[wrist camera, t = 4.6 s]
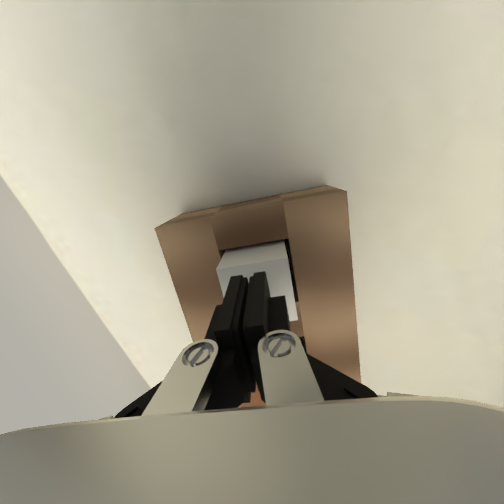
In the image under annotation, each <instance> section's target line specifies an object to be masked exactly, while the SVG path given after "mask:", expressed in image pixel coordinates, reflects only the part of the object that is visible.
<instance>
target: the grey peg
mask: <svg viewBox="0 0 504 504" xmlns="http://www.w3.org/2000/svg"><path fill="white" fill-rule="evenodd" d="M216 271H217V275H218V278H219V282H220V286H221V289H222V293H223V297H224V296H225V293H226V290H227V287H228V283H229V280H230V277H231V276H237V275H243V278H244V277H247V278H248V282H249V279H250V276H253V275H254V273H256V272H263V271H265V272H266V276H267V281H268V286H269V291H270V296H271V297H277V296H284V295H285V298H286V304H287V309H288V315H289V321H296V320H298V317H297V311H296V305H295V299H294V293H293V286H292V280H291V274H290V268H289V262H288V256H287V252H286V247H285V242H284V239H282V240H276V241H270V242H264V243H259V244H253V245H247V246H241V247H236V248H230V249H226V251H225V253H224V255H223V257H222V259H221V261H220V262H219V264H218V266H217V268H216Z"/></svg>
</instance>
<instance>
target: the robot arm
mask: <svg viewBox="0 0 504 504" xmlns="http://www.w3.org/2000/svg"><path fill="white" fill-rule="evenodd" d="M256 383H257V387H258V390H259V392H260V396H261V400H262V401H263V402H264V403H266V405H264V406H251V407H239V406H240V405H241V404H242V403H250V401H251V393H253V392H255V391H256ZM238 407H239V408H238ZM0 504H504V408H502V407H498V406H493V405H489V404H485V403H480V402H476V401H470V400H463V399H455V398H448V397H432V396H417V395H409V394H400V393H392V392H387V396H381V395H376V394H375V392H373V391H372V390H371V389H369V388H368V387H367V386H365V385H363V384H361V383H359V382H358V381H356V380H354V379H352V378H350V377H349V376H347V375H345V374H343V373H341V372H340V371H338V370H336V369H334V368H332V367H331V366H329V365H327V364H325V363H323V362H322V361H320V360H318V359H316V358H314V357H313V356H311V355H309V354H307V353H305V351H304V349H303V346H302V344H301V341H300V339H299V337H298V336H297V335H296V334H295V333H293V332H291V328H290V321H289V315H288V309H287V304H286V298H285V295H284V296H277V297H271V296H270V291H269V286H268V281H267V276H266V272H265V271H263V272H256V273H254V275H253V276H250V279H249V282H248V278H247V277H244V278H243V275H237V276H231V277H230V280H229V283H228V287H227V290H226V293H225V296H224V299H223V302H222V304H221V305H216V307H215V310H214V313H213V316H212V318H211V321H210V324H209V327H208V330H207V333H206V335H205V338H204V339H202V340H198V341H195V342H193V343H191V344H189V345H188V346H187V347H185V348H184V349H183V350H182V352H181V353H180V354H179V356H178V358H177V359H176V361H175V362H174V364H173V366H172V367H171V369H170V370H169V372H168V374H167V375H166V377H165V378H164V380H163V381H162V382H160V383H159V384H157V385H156V386H155V387H153V388H152V389H150V390H149V391H148V392H146V393H145V394H143V395H142V396H141V397H139V398H138V399H136V400H135V401H134V402H132V403H131V404H129V405H128V406H127V407H125V408H124V409H123V410H122V411H120V412H119V413H118V414H117V415H116V416H115V417H114V418H113V416H109V417H106V418H102V419H99V420H92V421H81V422H71V423H63V424H55V425H47V426H40V427H33V428H26V429H22V430H17V431H12V432H8V433H5V434H1V435H0Z"/></svg>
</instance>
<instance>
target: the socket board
mask: <svg viewBox="0 0 504 504" xmlns="http://www.w3.org/2000/svg"><path fill="white" fill-rule="evenodd" d="M155 230H156V233H157V236H158V239H159V242H160V245H161V248H162V251H163V254H164V257H165V260H166V263H167V266H168V269H169V272H170V275H171V278H172V281H173V284H174V287H175V290H176V292H177V295H178V298H179V301H180V304H181V307H182V310H183V313H184V316H185V319H186V322H187V325H188V328H189V331H190V334H191V337H192V340H193V342H195V341H198V340H202V339H204V338H205V335H206V333H207V330H208V327H209V324H210V321H211V318H212V316H213V313H214V310H215V307H216V305H221V304H222V302H223V299H224V297H223V293H222V289H221V286H220V282H219V278H218V275H217V271H216V268H217V266H218V264H219V262H220V261H221V259H222V257H223V255H224V253H225V251H226V249H230V248H236V247H241V246H247V245H253V244H259V243H264V242H270V241H276V240H282V239H287V244H288V250H289V256H290V262H291V268H292V272H290V274H291V280H292V286H293V293H294V299H295V305H296V311H297V317H298V320H296V321H290V328H291V332H293V333H295V334H296V335H297V336H298V337H302V336H303V341H301V344H302V346H303V349H304V351H305V353H307V354H309V355H311V356H313V357H314V358H316V359H318V360H320V361H322V362H323V363H325V364H327V365H329V366H331V367H332V368H334V369H336V370H338V371H340V372H341V373H343V374H345V375H347V376H349V377H350V378H352V379H354V380H356V381H358V382H359V383H361V376H360V362H359V349H358V336H357V322H356V309H355V295H354V282H353V269H352V255H351V242H350V229H349V215H348V202H347V191H344V190H341V189H338V188H334V187H331V186H328V185H326V186H321V187H316V188H311V189H306V190H301V191H296V192H291V193H286V194H281V195H276V196H271V197H266V198H260V199H255V200H250V201H245V202H240V203H235V204H230V205H225V206H220V207H215V208H210V209H205V210H200V211H195V212H190V213H185V214H181V215H179V216H177V217H175V218H173V219H171V220H169V221H168V222H166V223H164V224H162V225H160V226H158V227H156V228H155ZM239 407H240V406H239ZM239 407H238V408H239Z"/></svg>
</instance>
